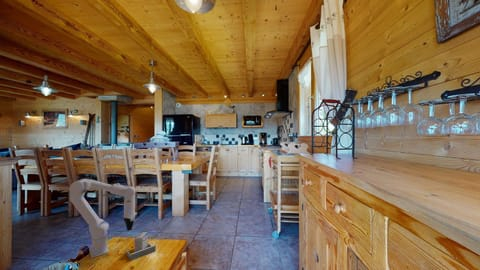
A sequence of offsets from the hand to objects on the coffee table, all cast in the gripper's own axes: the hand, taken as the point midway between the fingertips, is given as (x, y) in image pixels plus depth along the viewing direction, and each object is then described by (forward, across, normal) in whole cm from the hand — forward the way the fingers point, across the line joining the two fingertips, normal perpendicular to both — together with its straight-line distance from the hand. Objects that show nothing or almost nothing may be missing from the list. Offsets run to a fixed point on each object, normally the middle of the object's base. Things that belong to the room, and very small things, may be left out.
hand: (129, 230), depth 112 cm
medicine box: (+11, -8, -4) cm, 14 cm away
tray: (+11, -11, -3) cm, 15 cm away
